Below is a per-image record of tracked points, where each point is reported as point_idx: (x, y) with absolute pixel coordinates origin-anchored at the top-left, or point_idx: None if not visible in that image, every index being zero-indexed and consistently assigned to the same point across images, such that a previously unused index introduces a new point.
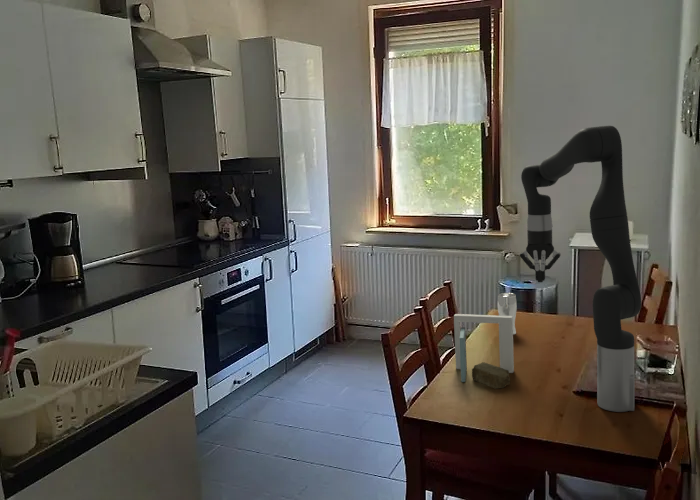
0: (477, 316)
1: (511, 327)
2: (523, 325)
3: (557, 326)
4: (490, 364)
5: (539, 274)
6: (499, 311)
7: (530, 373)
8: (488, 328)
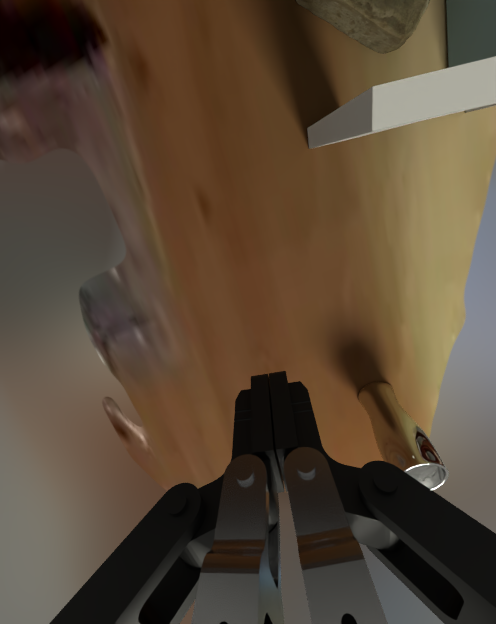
0: None
1: (353, 99)
2: (351, 438)
3: None
4: (380, 11)
5: (276, 421)
6: (418, 426)
7: (261, 147)
8: (420, 407)
